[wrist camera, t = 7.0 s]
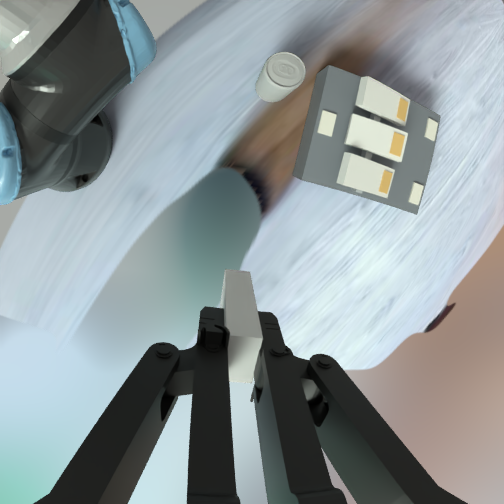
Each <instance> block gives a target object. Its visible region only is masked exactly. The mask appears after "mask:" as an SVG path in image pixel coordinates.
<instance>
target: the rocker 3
mask: <svg viewBox="0 0 504 504" xmlns="http://www.w3.org/2000/svg"><path fill="white" fill-rule="evenodd" d="M394 172H395V170H394V169H391V168H389V167H386V166H384V165H381V164H379V163H376V162H374V161H371V160H368V159H366V158H363V157H360V156H358V155H355V154H352V153H347V152H344V155H343V159H342V163H341V167H340V171H339V175H338V179H337V182H336V183H338V184H341V185H344V186H348V187H351V188H355V189H358V190H362V191H365V192H368V193H372V194H375V195H378V196H381V197H384V198H387V197H388V194H389V190H390V187H391V183H392V179H393V176H394Z"/></svg>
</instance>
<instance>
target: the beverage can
mask: <svg viewBox="0 0 504 504" xmlns="http://www.w3.org/2000/svg"><path fill="white" fill-rule="evenodd" d="M305 73H306V70H305V65H304V63H303V62H302V60H301V59H300V58H299V57H298V56H296V55H294V54H293V53H289V52H279V53H276V54H274V55H272V56H271V57H270V58H268V59H267V61H266V63H265V64H264V66H263V69H262V71H261V73H260V75H259V77H258V80H257V82H256V92H257V94H258V96H259V97H260V98H261V99H262V100H264V101H267V102H277V101H280V100H282V99H283V98H285V97H286V96H287V95H288V94H289V93H291V92H292V91H293V90H294V89H296V88H297V87H298V86H299V85H300V84H301V83H302V82H303V80H304V78H305Z"/></svg>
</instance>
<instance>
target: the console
mask: <svg viewBox="0 0 504 504" xmlns="http://www.w3.org/2000/svg"><path fill="white" fill-rule="evenodd" d="M360 80H361V77H360V76H357V75H355V74H352V73H350V72H347V71H344V70H342V69H339V68H336V67H333V66H331V65H328V66H327V67H326V68H324V69H323V70H321V71H320V72H319V73H317V76H316V80H315V84H314V89H313V93H312V97H311V101H310V106H309V110H308V114H307V118H306V122H305V127H304V131H303V135H302V139H301V143H300V147H299V151H298V155H297V159H296V163H295V167H294V171H293V175H292V176H294V177H296V178H298V179H300V180H303V181H307V182H311V183H314V184H318V185H322V186H326V187H329V188H333V189H336V190H340V191H343V192H347V193H350V194H354V195H357V196H361V197H364V198H367V199H370V200H374V201H377V202H380V203H383V204H386V205H389V206H393V207H396V208H399V209H402V210H405V211H408V212H411V213H413V214H416V215H417V213H418V210H419V206H420V203H421V199H422V196H423V192H424V189H425V185H426V181H427V177H428V173H429V169H430V165H431V161H432V157H433V152H434V148H435V143H436V138H437V133H438V128H439V122H440V115H438V114H436V113H435V112H433V111H431V110H429V109H428V108H426V107H424V106H422V105H420V104H418V103H416V102H414V101H412V100H411V99H410V104H409V110H408V115H407V120H406V125H405V126H397V125H396V124H394V123H392V122H390V121H388V120H386V119H384V118H382V117H380V116H378V115H376V114H373V113H371V112H369V111H367V110H365V109H363V108H361V107H358V106H356V105H355V104H356V99H357V95H358V90H359V85H360ZM406 98H407V97H406ZM408 99H409V98H408ZM352 114H356V115H359V116H362V117H365V118H368V119H371V120H374V121H377V122H380V123H383V124H385V125H388V126H391V127H393V128H396V129H399V130H401V131H404V132H406V133H408V136H407V141H406V145H405V149H404V154H403V158H402V162H396V161H394V160H391V159H388V158H385V157H382V156H380V155H377V154H374V153H371V152H368V151H365V150H362V149H359V148H356V147H352V146H349V145H346V144H344V142H345V138H346V134H347V130H348V125H349V121H350V117H351V115H352ZM344 152H347V153H352V154H355V155H358V156H360V157H363V158H366V159H368V160H371V161H374V162H376V163H379V164H381V165H384V166H386V167H389V168H391V169H394V170H395V172H394V176H393V179H392V183H391V187H390V190H389V194H388V197H387V198H384V197H381V196H378V195H375V194H372V193H368V192H365V191H362V190H358V189H355V188H351V187H348V186H344V185H341V184H338V183H336V182H337V179H338V175H339V171H340V167H341V163H342V159H343V155H344Z"/></svg>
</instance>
